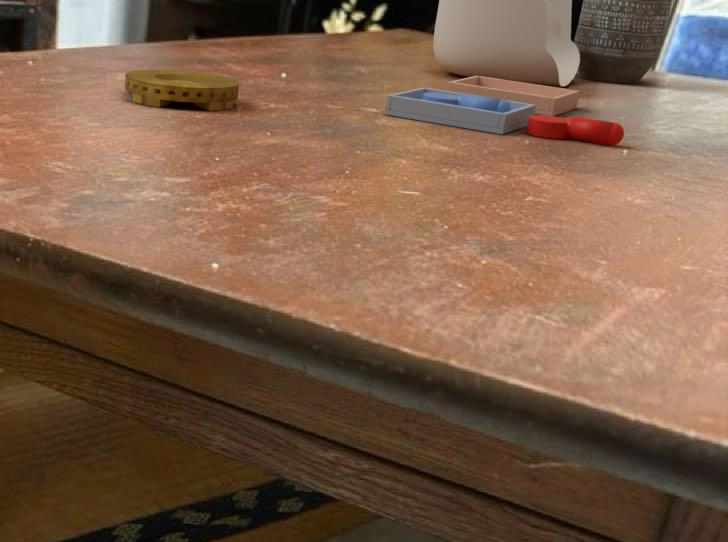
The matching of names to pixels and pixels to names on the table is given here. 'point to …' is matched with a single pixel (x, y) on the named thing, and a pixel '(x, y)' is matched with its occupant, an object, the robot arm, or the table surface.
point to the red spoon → (575, 129)
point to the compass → (181, 88)
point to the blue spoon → (470, 101)
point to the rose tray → (519, 93)
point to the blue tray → (457, 112)
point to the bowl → (507, 40)
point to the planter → (620, 38)
